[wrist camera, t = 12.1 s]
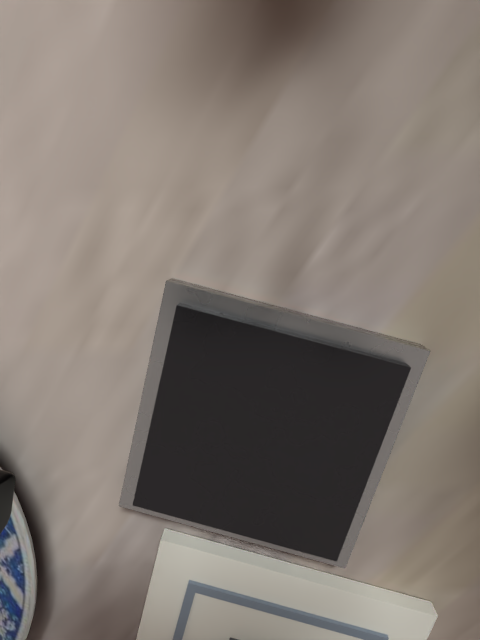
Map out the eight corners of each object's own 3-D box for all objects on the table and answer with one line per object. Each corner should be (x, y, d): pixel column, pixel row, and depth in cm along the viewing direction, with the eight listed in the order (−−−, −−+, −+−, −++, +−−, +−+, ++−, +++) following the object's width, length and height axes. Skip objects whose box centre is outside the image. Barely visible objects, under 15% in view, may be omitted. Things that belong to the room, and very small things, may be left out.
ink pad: (421, 344, 18) (436, 355, 16) (341, 552, 20) (347, 578, 19) (171, 278, 18) (162, 282, 16) (125, 493, 20) (114, 514, 19)
